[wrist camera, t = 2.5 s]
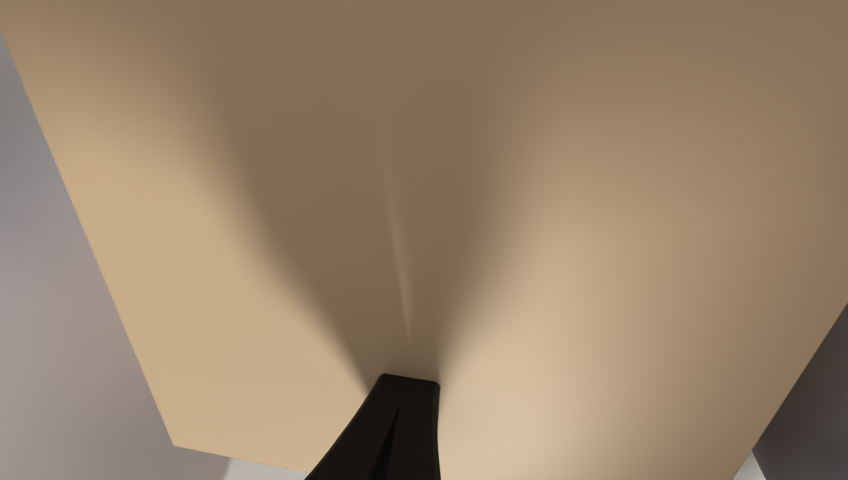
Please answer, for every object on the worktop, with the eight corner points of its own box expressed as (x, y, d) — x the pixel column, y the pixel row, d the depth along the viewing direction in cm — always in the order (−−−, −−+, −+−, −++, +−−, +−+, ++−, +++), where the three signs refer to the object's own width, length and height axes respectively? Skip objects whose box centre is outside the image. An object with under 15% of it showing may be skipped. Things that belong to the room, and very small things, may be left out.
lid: (679, 524, 12) (686, 549, 11) (186, 428, 14) (173, 445, 13) (1064, -114, 5) (1125, -124, 4) (-23, -118, 7) (-65, -125, 7)
